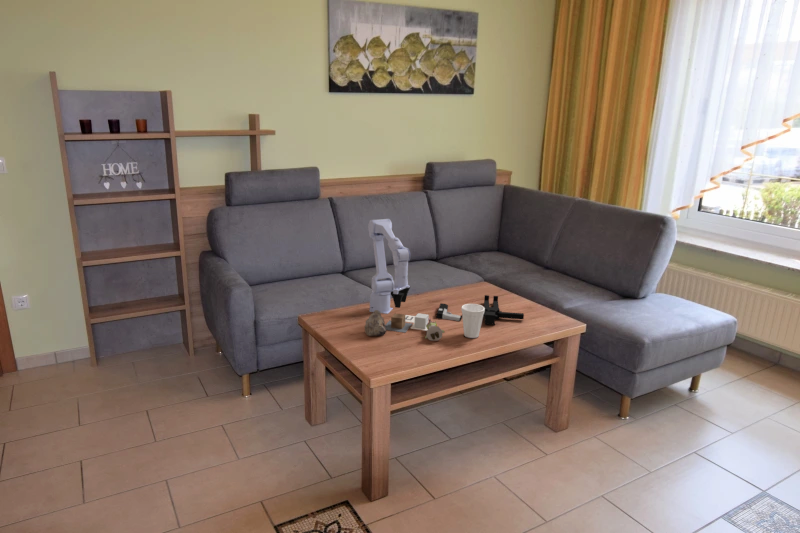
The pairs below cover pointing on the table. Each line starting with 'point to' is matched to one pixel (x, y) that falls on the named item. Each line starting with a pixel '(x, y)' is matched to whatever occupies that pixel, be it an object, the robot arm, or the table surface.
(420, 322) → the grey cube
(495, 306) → the toy
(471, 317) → the cup
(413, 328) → the code tile
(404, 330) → the slate mat
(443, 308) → the toy gun
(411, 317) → the code tile
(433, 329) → the figurine
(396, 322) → the walnut cube
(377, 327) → the rock
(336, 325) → the table surface
